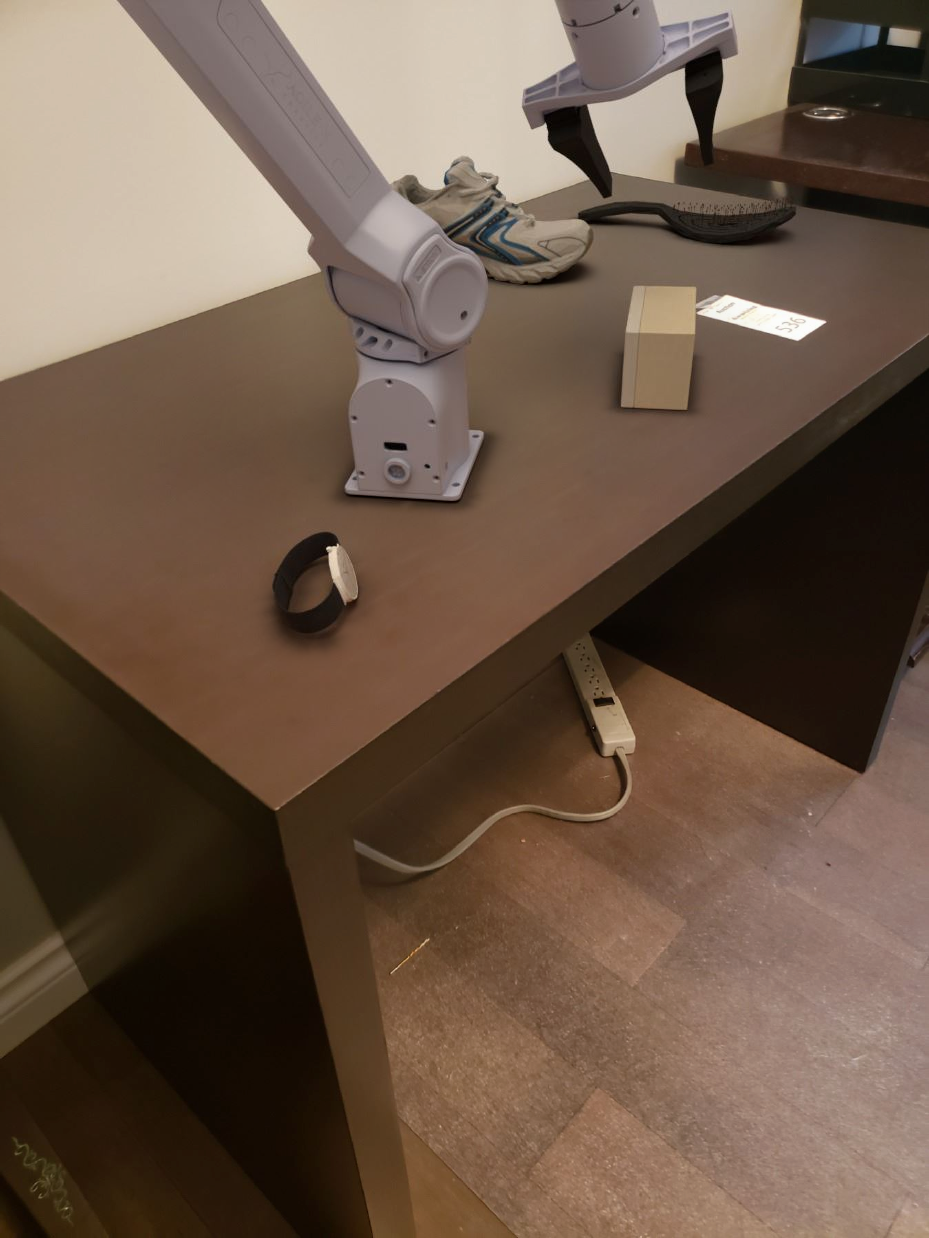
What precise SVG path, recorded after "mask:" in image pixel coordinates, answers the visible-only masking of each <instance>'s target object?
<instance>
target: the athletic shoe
mask: <svg viewBox="0 0 929 1238" xmlns="http://www.w3.org/2000/svg"><path fill="white" fill-rule="evenodd" d="M499 181H500V177H499V176H498V175H495V174H493V173H492V172H483V171H480V172H478V171H477V170H476V169H475V162H474V160H473V159H472V158H470V157H469V156H467V155H466V156H465V155H460V156H459V157H457V158H455V159H454V160H452V162H451V164H450V167H449V168H448V169H447V170H446V171H445V172H444V176H443V183H444V186H443V187H442V188H440V189H439V188H438V189H431V188H428V187H425V186H423V184H421V183H420V182H419V179H418V177H417V176H416V175H415V174H405V175H404V176H403V177H401V178H399V179H397V180H394V181H392V182H391V183H389V184H390V186H391V187H392V189H393V190H395V191H396V192H397V193H398V194H400V195H401V196H402V197H404V198H405V199H406V200H408V201H409V202H410V203H412V204H413V205H415V206H416V207H417V208H419V209H420V210H421V211H423V212H424V213H425V214H427V215H428V216H429V217H431V218H432V219H433V220H435V221H436V222H437V223H438V224H439V225H440V227H441V228H442V230H443V231H444V233H445V234H446V235H447V237H448V238H449V239H450V240H451V241H453V242H454V243H456V244H458V245H461V246H464V247H466V248H468V249H470V250H471V251H473V252H474V253H475V254H476V255H477V256H478V257H479V259H480V260H481V262H482V263H483V266H484V268H485V271H486V275H487V278H492V277H493V278H494V280H496V281H499V282H500V281H501V282H510V283H512V284H518V285H519V284H520V285H523V284H525V283H526V282H527V283H528V284H537V283H540V282H542V281H543V280H544V279H546V280H550V279H553V278H554V277H556V276H558V275H559V274H560V273H564V272H566V271H568V270H569V269H570V268H571V267H572V266H574V265H576V264H577V263H578V262H579V261H580V260H581V259H582V258H583V257H584V256H585V255H586V254H587V253H588V251H589V250H590V248H591V246H592V245H593V242H594V238H595V237H594V229H593V228H592V226H590V225H589V224H588V223H587V222H586V220H579V219H578V218H573V219H558V220H548V221H547V220H546V221H545V220H537V219H536V217H535V215H534V214H532V213H528V214H526V213H525V211H524V209H523V208H521V207H520V206H519V205H518V204H515V203H513V202H510V201H508V200H506V199H507V197H506V195H504V194H503V193H502V191H501V190H499V189H498V188H497V185H499Z"/></svg>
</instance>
